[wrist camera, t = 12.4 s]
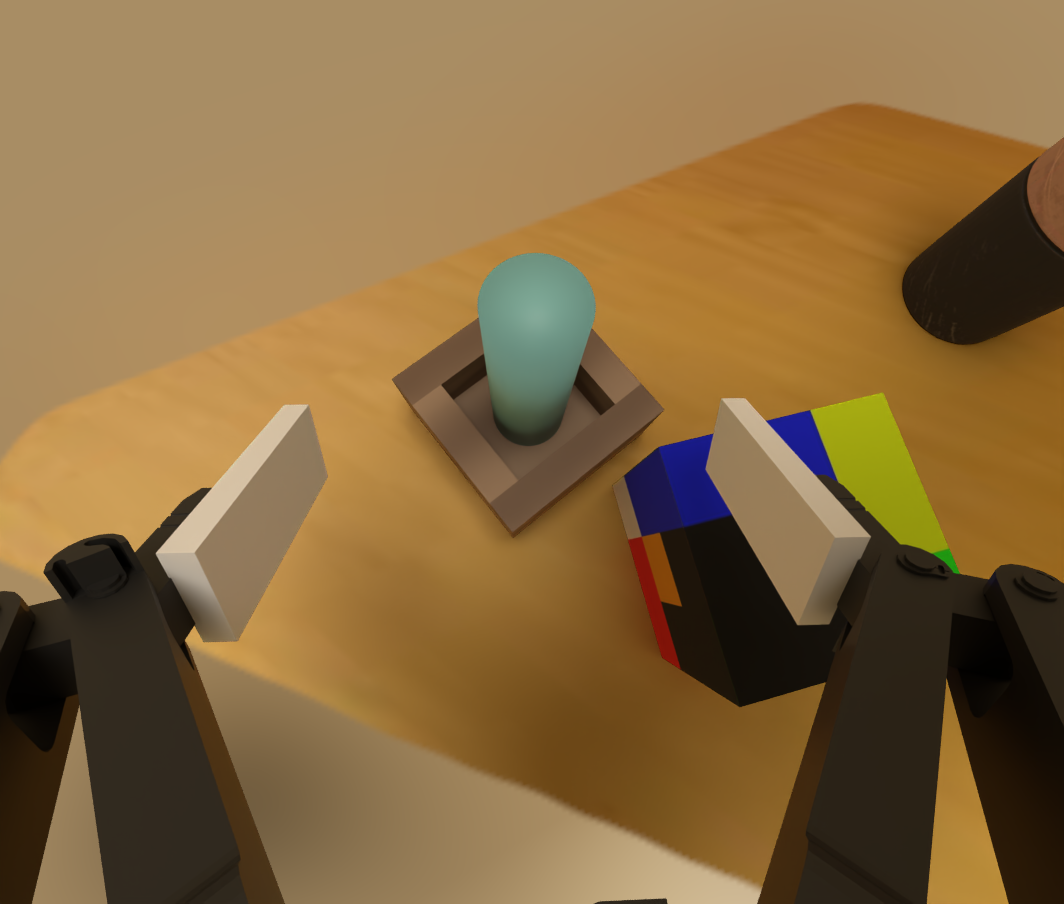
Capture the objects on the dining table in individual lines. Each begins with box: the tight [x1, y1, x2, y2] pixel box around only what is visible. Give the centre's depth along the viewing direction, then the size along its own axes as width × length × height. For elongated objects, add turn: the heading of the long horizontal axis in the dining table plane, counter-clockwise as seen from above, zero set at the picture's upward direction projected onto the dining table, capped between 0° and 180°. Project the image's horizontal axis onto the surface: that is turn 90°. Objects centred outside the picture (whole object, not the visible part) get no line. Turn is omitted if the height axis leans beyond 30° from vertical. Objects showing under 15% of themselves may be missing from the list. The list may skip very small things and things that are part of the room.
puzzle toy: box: [612, 393, 960, 707], centre depth 24 cm, size 10×10×10 cm
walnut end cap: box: [392, 318, 664, 538], centre depth 28 cm, size 10×10×5 cm
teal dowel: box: [478, 253, 596, 446], centre depth 23 cm, size 4×4×12 cm
